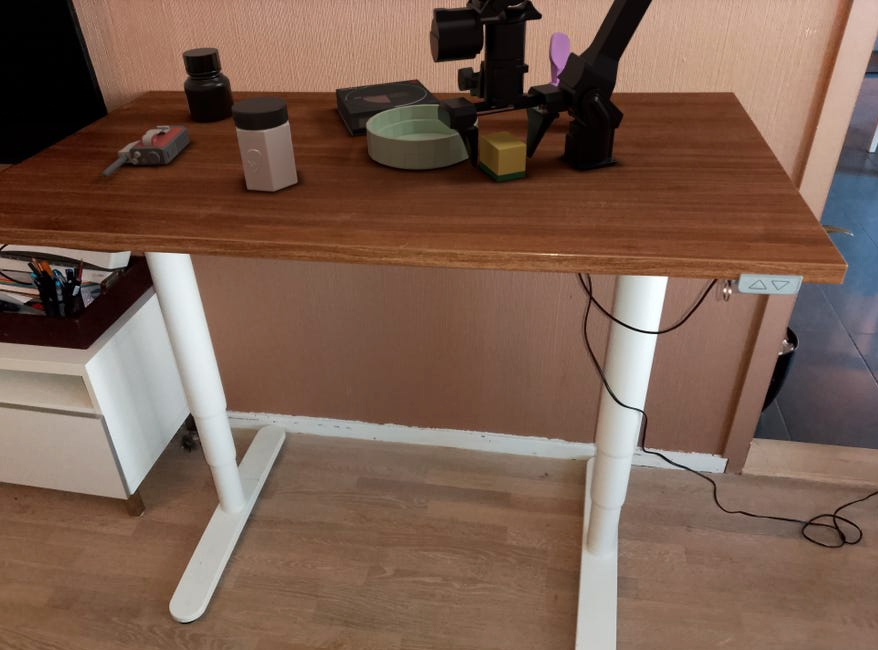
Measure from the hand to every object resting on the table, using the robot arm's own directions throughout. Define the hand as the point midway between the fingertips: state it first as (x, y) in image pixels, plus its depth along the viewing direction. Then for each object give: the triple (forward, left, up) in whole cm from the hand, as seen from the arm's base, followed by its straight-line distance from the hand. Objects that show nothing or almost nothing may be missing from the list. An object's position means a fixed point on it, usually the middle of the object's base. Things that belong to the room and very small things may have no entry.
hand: (501, 162), depth 111 cm
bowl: (+8, -14, -2) cm, 16 cm away
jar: (+34, -12, -2) cm, 36 cm away
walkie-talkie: (+52, -31, -2) cm, 61 cm away
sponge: (0, 0, -2) cm, 2 cm away
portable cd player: (+8, -34, -2) cm, 35 cm away
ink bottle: (+39, -52, -2) cm, 65 cm away
